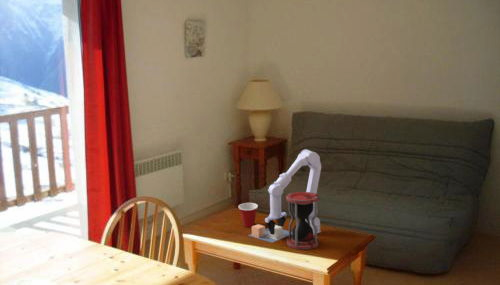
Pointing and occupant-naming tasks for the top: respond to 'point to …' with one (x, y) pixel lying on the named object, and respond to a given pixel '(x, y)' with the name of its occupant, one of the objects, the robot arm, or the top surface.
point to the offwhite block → (277, 232)
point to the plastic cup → (248, 213)
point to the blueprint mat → (271, 239)
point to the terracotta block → (258, 230)
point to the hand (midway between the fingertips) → (276, 232)
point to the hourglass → (302, 220)
